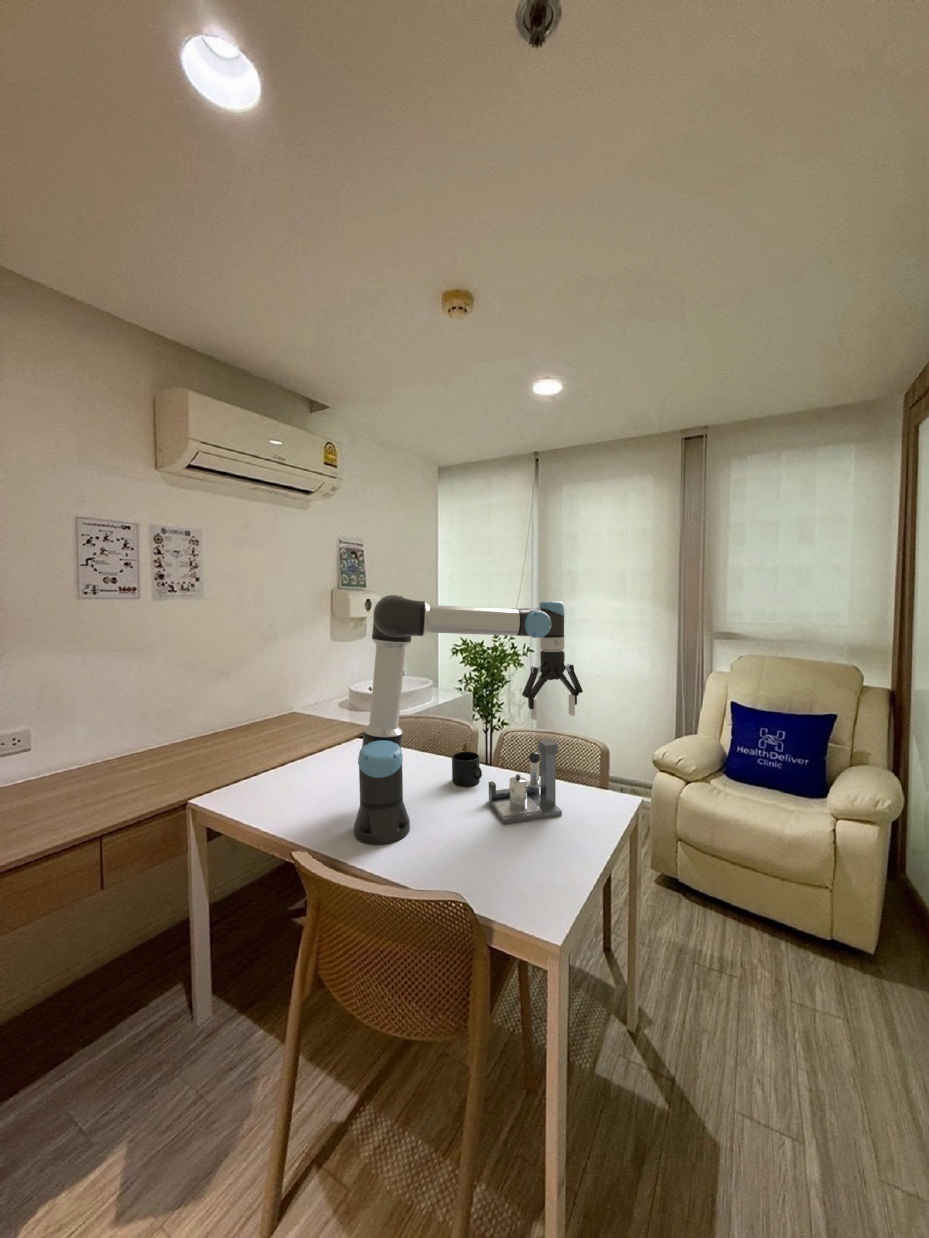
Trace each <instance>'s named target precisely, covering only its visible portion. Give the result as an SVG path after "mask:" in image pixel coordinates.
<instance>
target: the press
mask: <svg viewBox="0 0 929 1238" xmlns="http://www.w3.org/2000/svg"><path fill="white" fill-rule="evenodd" d="M558 748H559V744H558V743H557V742H555V741H553V740H552V739H550V738H548V739H541V740H538V741H537V750H538V752H540V754H539V755H540V761H539V781H540V783H541V787H540V788H532V789H531V788H530V787H529V786H528V785H527V808H526V809H524V810H513V809H511V808H510V788H503V789H497V785H496V782H495V781H494V780H493V781H488V802H489V808H490V809H491V810H492V812H494V814H495V815H496V816H497V818H498V819H499V821H501V823H502V825H504V826H505V825H511V824H517V823H522V822H523V823H524V822H529V821H535V820H541V819H542V820H543V819H548V818H554V817H555V818H556V817H560V816H562V815H563V810H562V809H561V808H560V807H558V805H556V800H557V799H556V798H557V797H556V794H557V793H556V755H558V754H559V753H558V752H559V749H558Z"/></svg>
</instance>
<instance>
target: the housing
mask: <svg viewBox="0 0 929 1238" xmlns="http://www.w3.org/2000/svg"><path fill="white" fill-rule="evenodd" d="M527 782H528V781H527V779H526V778H525V777H523V776H521V774H519V773H518V774H515V776H513V777H510V779H509V789H510V808H511V809H513V810H524V809H526V808H527V786H528V785H527Z"/></svg>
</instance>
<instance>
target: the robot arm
mask: <svg viewBox="0 0 929 1238" xmlns="http://www.w3.org/2000/svg"><path fill="white" fill-rule="evenodd" d="M372 615H373V616H372V617H373V621H372V634H371V640H372V642H374V644H375V645H376V647H375V648H376V649H375V659H374V667H373V668H374V671H373V679H372V691H371V692H372V693H371V702H370V712H369V713H370V715H369V724H368V725H367V726H365V727H364V728H363V734H362V735H363V736H362V744H361V748H360V750H359V752H358V753H359V754H358V757H357V758H358V759H357V760H358V762H357V763H358V773H359V775H358V777H359V778H358V779H359V807H358V812H357V814H356V818H355V821H354V823H353V824H354V825H353V832H354V834H353V835H354V837H355V838H356V840H357V841H359V842H361V843H364V844H366V845H367V844H368V845H387V844H391V843H395V842H397V841H400V840H401V839H403V838H405V837H406V836H407V835H408V834H409V833H410V831H411V823H410V822H411V821H410V817H409V814H408V811H407V808H406V806H405V803H404V795H403V794H404V792H403V790H404V787H403V786H404V785H403V783H404V781H403V778H404V777H403V760H404V759H403V758H404V756H403V753H402V745H403V744H402V743H403V733H404V731H403V729H402V728H401V727H400V726H399V721H400V720H399V719H400V709H401V700H402V699H401V697H402V688H403V678H404V677H403V675H404V665H405V655H406V648H407V646H409V645H410V644H411V642H412V637H424V636H425V635H427V634H429V633H433V634H458V635H459V634H461V635H484V636H485V635H487V636H491V635H492V636H510V637H511V636H514V637H516V636H517V637H531V638H533V639H539V649H540V653H539V655H540V658H539V660H540V666H531V667H530V674H529V675H528V676H529V677H528V679H527V681H526V683H525V687H524V689H523V691H522V693H521V694H522V696H523V697H524V698H527V699H528V700H527V701H528V704H527V705H528V706H527V707H528V709H529V710H530V718H531V719H532V720H534V721H537V720H538V717H537V712H538V711H537V710H538V709H537V705H538V703H537V701H538V700H537V698H535V697H536V696H537V695H538V693H539V692H540V691H541V689H542V687H543V686H544V685H545V683H547V681H553V680H560V681H561V682H562V684H563V685H564V686H565V687H566V689H567V690H568V691H569V694H568V715H570V716H572V717H575V716H576V705H577V704H578V696H579V694H582V693H583V692H584V690H583V688H582V686H581V683H580V682H579V681H580V680H579V678H578V676H577V675H576V672H575V667H574V664H571V663H567V664H565V661H566V660H565V651H564V649H565V607H564V603H563V602H562V601H559V600H558V601H556V600H553V601H552V600H551V601H550V600H549V601H548V600H547V601H546V600H545V601H540V602H539V606H538V607H535V608H533V607H532V608H530V607H529V608H525V607H524V608H498V607H497V608H493V607H478V606H476V607H475V606H473V607H471V606H454V605H453V606H452V605H438V604H437V605H435V604H434V605H433V604H429V603H428V602H426V600H415V599H409V598H405V597H403V596H402V595H398V594H393V595H392V594H389V595H386V596H383V597H382V598H381V599H379V601H377V602H376V605H375V606H374V609H373V614H372ZM564 672H567V674H568V676H569V678H570V681H571V682H570V681H569V680H568V678H567V677H566V675H565V674H564ZM538 674H540V675H539V677H538ZM537 677H538V679H537ZM536 679H537V681H536ZM535 682H536V683H535ZM571 683H572V684H571Z"/></svg>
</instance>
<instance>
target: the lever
mask: <svg viewBox="0 0 929 1238" xmlns="http://www.w3.org/2000/svg"><path fill="white" fill-rule="evenodd" d="M528 761H529V776H530V777H529V781H527V786H529V787H530V788H531V789H532V788H539V789H541V783H540V754H539V752H537V751H532V752H530V753H529V755H528Z"/></svg>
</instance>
